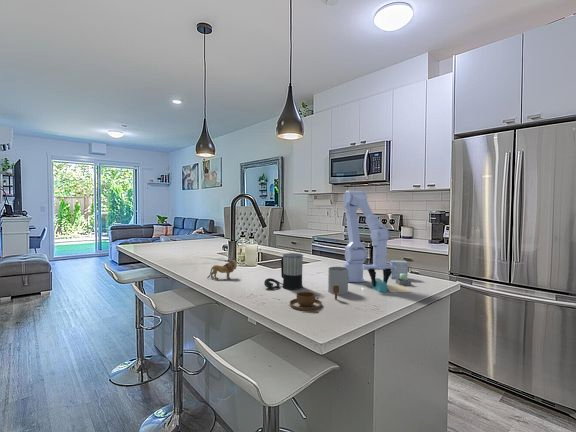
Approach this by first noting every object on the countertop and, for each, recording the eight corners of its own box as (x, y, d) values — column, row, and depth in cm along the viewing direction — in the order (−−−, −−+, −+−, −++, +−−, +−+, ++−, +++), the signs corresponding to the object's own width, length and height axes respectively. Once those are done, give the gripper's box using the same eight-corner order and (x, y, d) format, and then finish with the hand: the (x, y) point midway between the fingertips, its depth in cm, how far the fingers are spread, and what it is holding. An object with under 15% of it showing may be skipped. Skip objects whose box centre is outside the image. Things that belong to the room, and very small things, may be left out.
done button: (401, 281, 151) (401, 274, 151) (398, 279, 154) (398, 273, 154) (407, 281, 151) (408, 274, 151) (405, 279, 154) (405, 273, 154)
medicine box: (405, 277, 166) (405, 260, 166) (407, 279, 162) (407, 262, 162) (389, 277, 167) (389, 260, 167) (391, 279, 163) (391, 261, 162)
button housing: (399, 285, 150) (399, 281, 150) (395, 282, 155) (395, 278, 155) (410, 285, 150) (410, 281, 150) (406, 282, 155) (406, 278, 155)
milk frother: (307, 287, 146) (307, 254, 146) (282, 294, 135) (283, 258, 134) (284, 281, 156) (284, 251, 156) (260, 287, 145) (260, 254, 144)
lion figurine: (236, 276, 167) (236, 259, 167) (237, 278, 162) (237, 260, 161) (207, 277, 164) (207, 260, 163) (207, 280, 159) (206, 261, 158)
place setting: (288, 299, 129) (288, 285, 129) (338, 299, 130) (338, 285, 129) (290, 315, 111) (290, 298, 111) (348, 314, 112) (348, 298, 112)
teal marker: (379, 292, 138) (379, 283, 138) (370, 286, 149) (370, 277, 149) (386, 292, 139) (387, 283, 138) (377, 286, 149) (377, 277, 149)
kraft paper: (390, 292, 138) (390, 291, 138) (382, 285, 150) (382, 284, 150) (411, 292, 138) (411, 291, 138) (401, 285, 150) (401, 284, 150)
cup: (349, 290, 142) (349, 267, 141) (346, 295, 134) (346, 271, 133) (330, 288, 144) (330, 266, 144) (326, 293, 137) (326, 269, 136)
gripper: (365, 256, 139) (365, 288, 139) (399, 257, 139) (398, 288, 139) (361, 254, 146) (361, 284, 146) (393, 254, 146) (393, 284, 146)
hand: (379, 286), depth 143 cm, fingers open, 4 cm apart
